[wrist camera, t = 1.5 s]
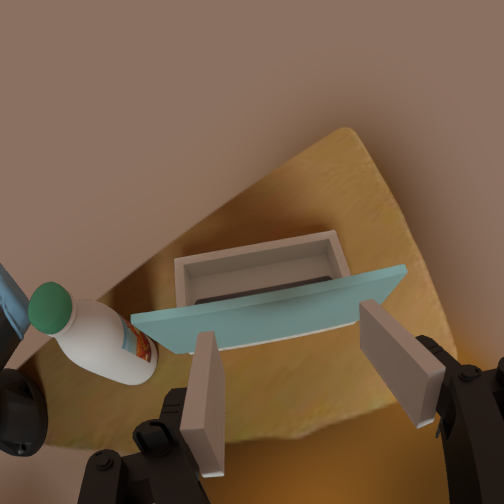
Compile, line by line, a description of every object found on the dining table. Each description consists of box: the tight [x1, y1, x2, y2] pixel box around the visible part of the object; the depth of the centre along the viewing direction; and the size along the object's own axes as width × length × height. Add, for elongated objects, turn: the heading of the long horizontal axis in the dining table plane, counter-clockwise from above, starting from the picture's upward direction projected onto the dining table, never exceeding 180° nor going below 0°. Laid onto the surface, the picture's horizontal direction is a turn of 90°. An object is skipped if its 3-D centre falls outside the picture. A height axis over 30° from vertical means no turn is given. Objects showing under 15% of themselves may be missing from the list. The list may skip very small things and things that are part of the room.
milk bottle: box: [28, 282, 158, 385], centre depth 30 cm, size 8×8×20 cm
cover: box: [131, 264, 407, 354], centre depth 29 cm, size 23×13×1 cm
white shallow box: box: [174, 230, 356, 355], centre depth 40 cm, size 22×12×5 cm, turn 99°
